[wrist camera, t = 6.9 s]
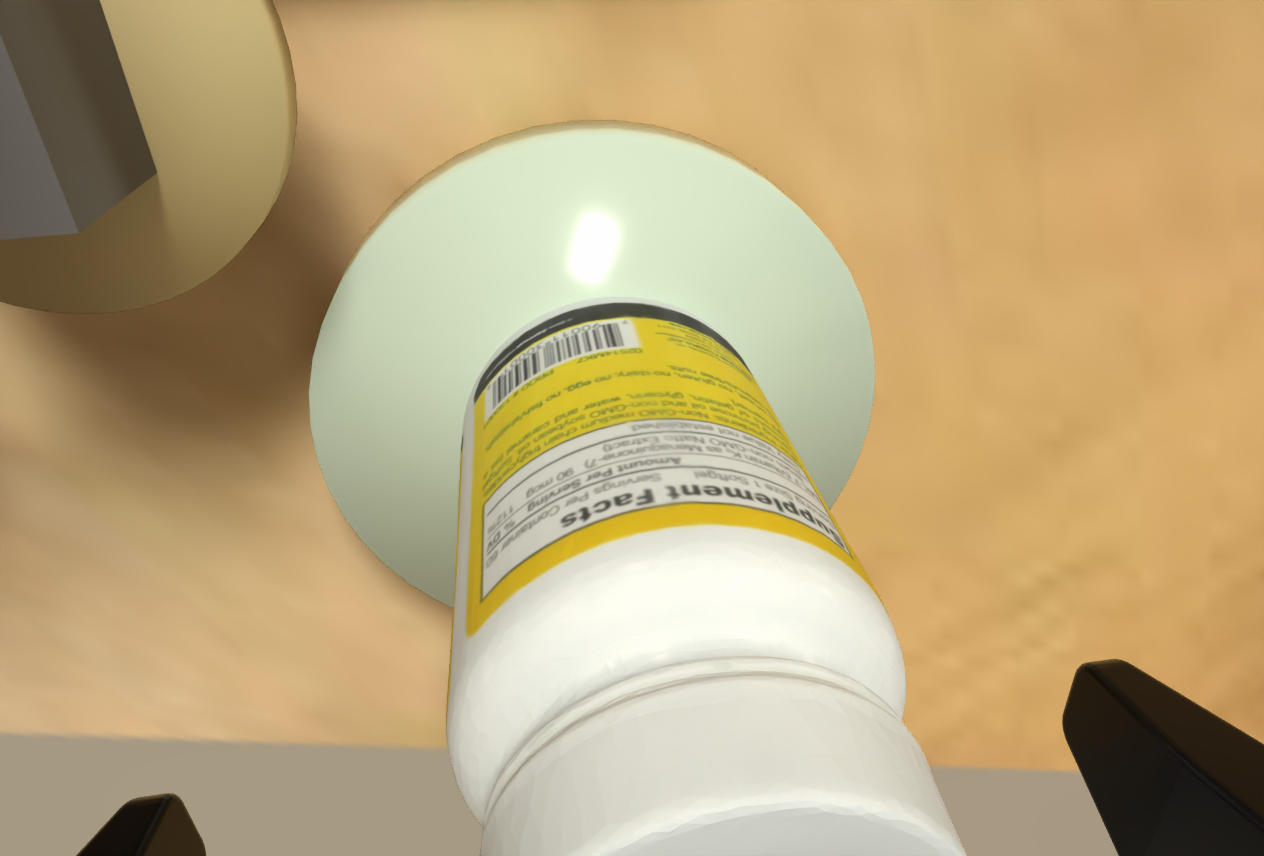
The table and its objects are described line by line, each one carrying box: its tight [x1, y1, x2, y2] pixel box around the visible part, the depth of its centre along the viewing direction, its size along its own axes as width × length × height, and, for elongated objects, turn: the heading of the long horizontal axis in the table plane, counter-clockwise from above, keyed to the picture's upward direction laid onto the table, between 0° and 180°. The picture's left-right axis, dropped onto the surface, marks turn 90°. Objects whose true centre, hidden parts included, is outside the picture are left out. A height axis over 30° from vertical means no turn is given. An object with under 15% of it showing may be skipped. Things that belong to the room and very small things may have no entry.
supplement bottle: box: [446, 297, 967, 856], centre depth 10 cm, size 5×5×8 cm
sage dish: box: [309, 120, 875, 608], centre depth 14 cm, size 9×9×1 cm
